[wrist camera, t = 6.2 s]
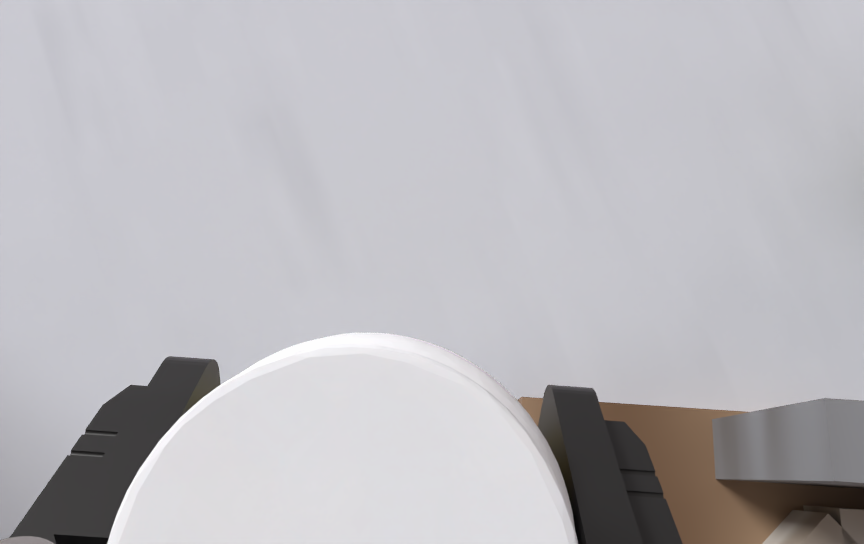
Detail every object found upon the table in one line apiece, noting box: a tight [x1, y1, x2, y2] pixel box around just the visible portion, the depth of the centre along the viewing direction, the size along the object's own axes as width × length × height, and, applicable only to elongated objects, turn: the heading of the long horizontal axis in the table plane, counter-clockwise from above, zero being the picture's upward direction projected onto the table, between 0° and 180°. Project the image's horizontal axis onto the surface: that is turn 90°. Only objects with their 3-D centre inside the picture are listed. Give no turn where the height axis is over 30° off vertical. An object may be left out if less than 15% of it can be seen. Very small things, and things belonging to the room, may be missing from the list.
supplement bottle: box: [107, 332, 578, 544], centre depth 10 cm, size 5×5×10 cm
